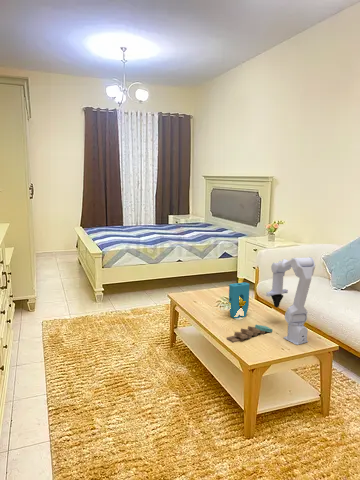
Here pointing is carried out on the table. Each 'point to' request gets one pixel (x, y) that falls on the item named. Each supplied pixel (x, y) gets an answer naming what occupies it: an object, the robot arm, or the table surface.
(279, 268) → the robot arm
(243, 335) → the walnut domino
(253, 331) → the walnut domino
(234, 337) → the walnut domino
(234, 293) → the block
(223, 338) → the table surface
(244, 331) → the walnut domino
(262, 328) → the teal domino
